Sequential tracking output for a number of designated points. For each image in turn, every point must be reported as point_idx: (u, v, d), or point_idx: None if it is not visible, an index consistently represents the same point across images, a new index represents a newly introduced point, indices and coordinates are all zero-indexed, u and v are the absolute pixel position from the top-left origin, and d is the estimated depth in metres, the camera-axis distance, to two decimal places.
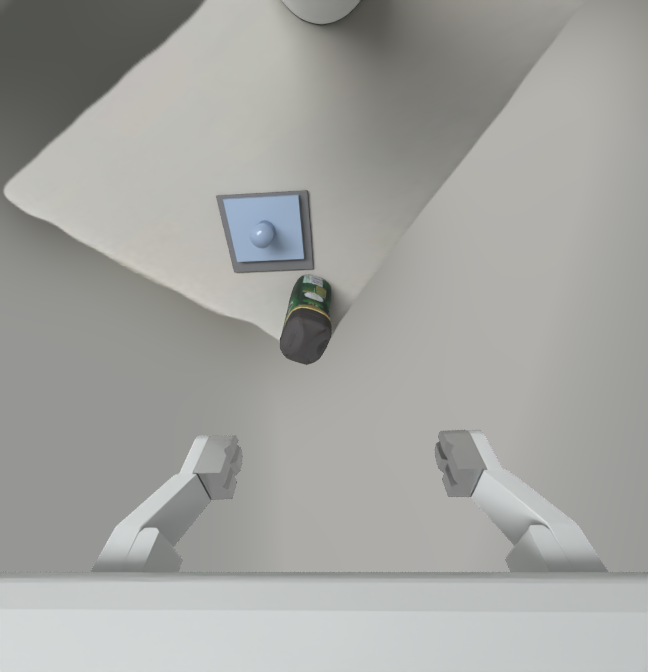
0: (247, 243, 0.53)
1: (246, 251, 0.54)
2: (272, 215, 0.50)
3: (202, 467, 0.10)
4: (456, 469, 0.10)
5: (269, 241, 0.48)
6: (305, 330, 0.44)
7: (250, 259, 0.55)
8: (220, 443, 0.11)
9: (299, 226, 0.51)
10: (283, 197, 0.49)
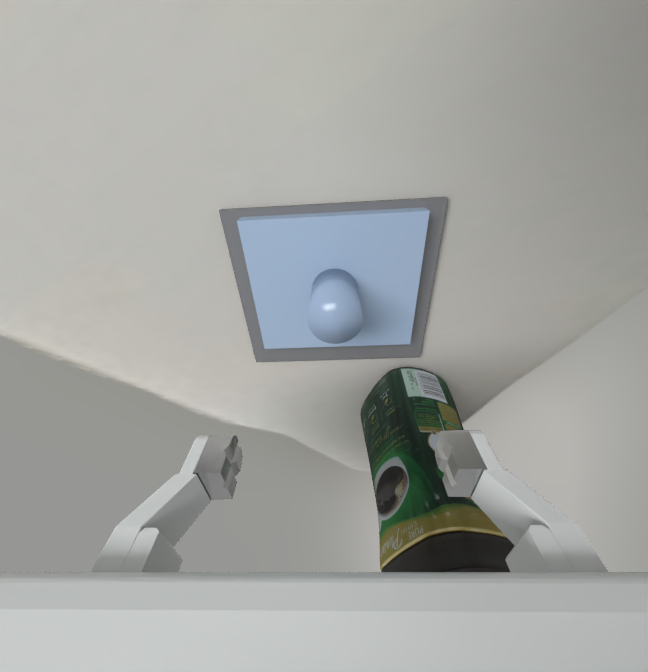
0: (289, 315, 0.24)
1: (285, 330, 0.24)
2: (356, 258, 0.21)
3: (202, 467, 0.10)
4: (456, 469, 0.10)
5: (356, 329, 0.19)
6: None
7: (293, 344, 0.25)
8: (220, 443, 0.11)
9: (414, 282, 0.22)
10: (392, 215, 0.19)
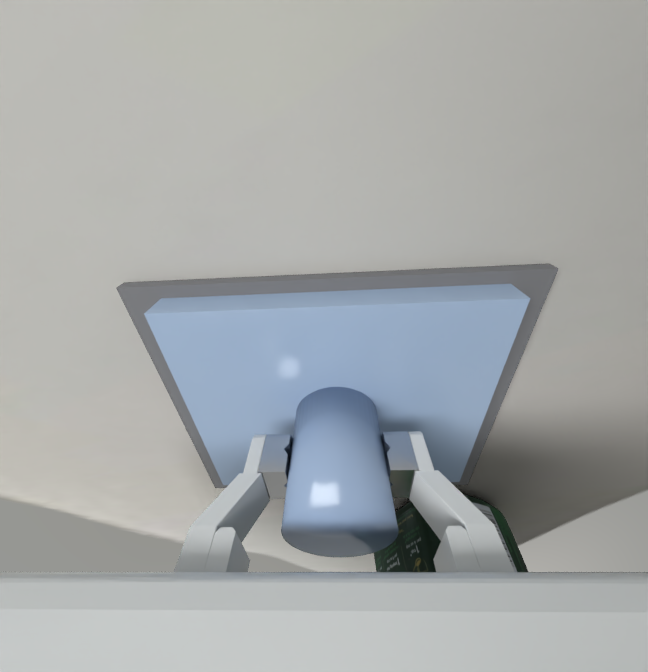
0: None
1: None
2: (378, 372, 0.11)
3: (265, 466, 0.10)
4: (389, 470, 0.10)
5: (383, 542, 0.09)
6: None
7: None
8: (279, 442, 0.11)
9: (480, 406, 0.12)
10: (453, 305, 0.09)
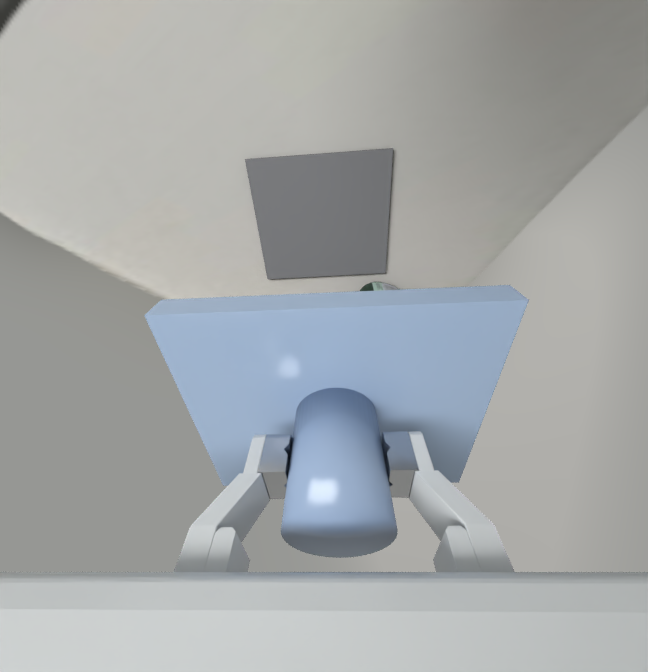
0: None
1: None
2: (377, 373, 0.11)
3: (265, 466, 0.10)
4: (389, 470, 0.10)
5: (382, 542, 0.09)
6: None
7: None
8: (279, 442, 0.11)
9: (479, 407, 0.12)
10: (451, 307, 0.10)
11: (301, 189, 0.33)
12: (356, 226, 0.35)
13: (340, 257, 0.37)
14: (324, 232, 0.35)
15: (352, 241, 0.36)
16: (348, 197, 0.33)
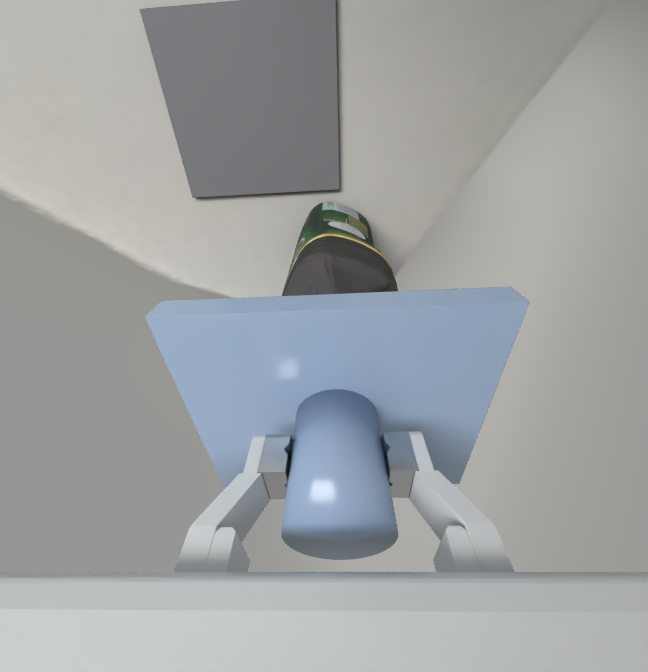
0: None
1: None
2: (377, 374, 0.11)
3: (265, 466, 0.10)
4: (389, 470, 0.10)
5: (382, 545, 0.09)
6: (340, 287, 0.17)
7: None
8: (279, 442, 0.11)
9: (480, 409, 0.12)
10: (452, 308, 0.10)
11: (219, 59, 0.25)
12: (297, 118, 0.27)
13: (281, 165, 0.29)
14: (257, 127, 0.27)
15: (294, 141, 0.28)
16: (282, 72, 0.25)
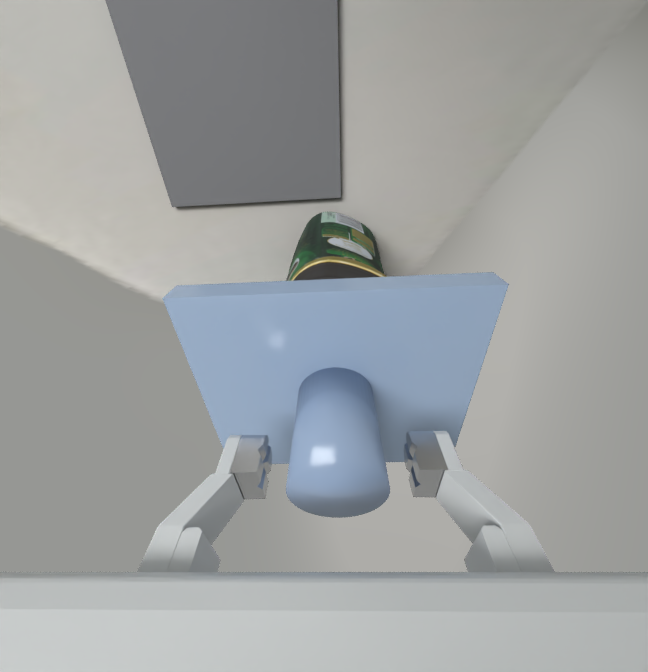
0: (265, 425, 0.15)
1: None
2: (373, 353, 0.12)
3: (238, 466, 0.10)
4: (418, 470, 0.10)
5: (376, 501, 0.10)
6: None
7: (273, 459, 0.17)
8: (253, 442, 0.11)
9: (467, 386, 0.13)
10: (439, 290, 0.11)
11: (198, 45, 0.21)
12: (291, 115, 0.23)
13: (273, 170, 0.25)
14: (244, 126, 0.23)
15: (288, 142, 0.24)
16: (273, 60, 0.21)
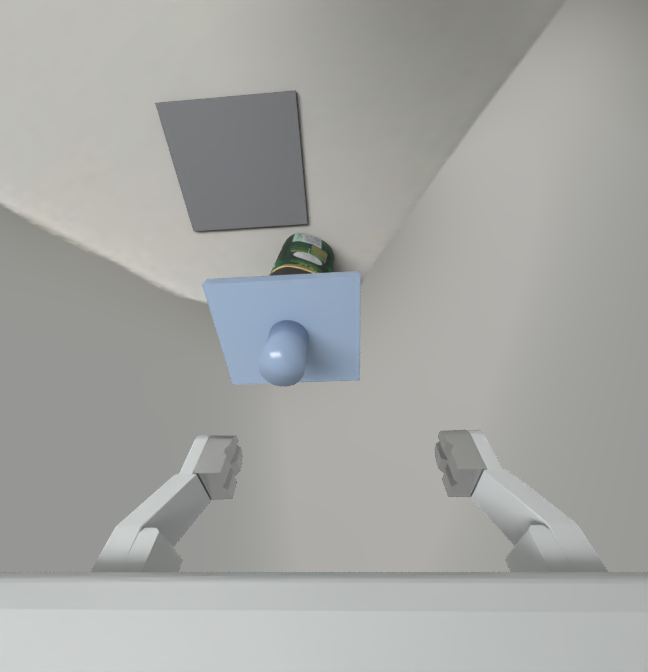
0: (252, 357, 0.27)
1: (249, 369, 0.28)
2: (304, 311, 0.25)
3: (202, 467, 0.10)
4: (456, 469, 0.10)
5: (300, 375, 0.23)
6: None
7: (258, 381, 0.29)
8: (220, 443, 0.11)
9: (356, 330, 0.26)
10: (330, 279, 0.23)
11: (213, 134, 0.34)
12: (272, 173, 0.36)
13: (261, 207, 0.38)
14: (242, 180, 0.36)
15: (270, 189, 0.37)
16: (259, 142, 0.34)
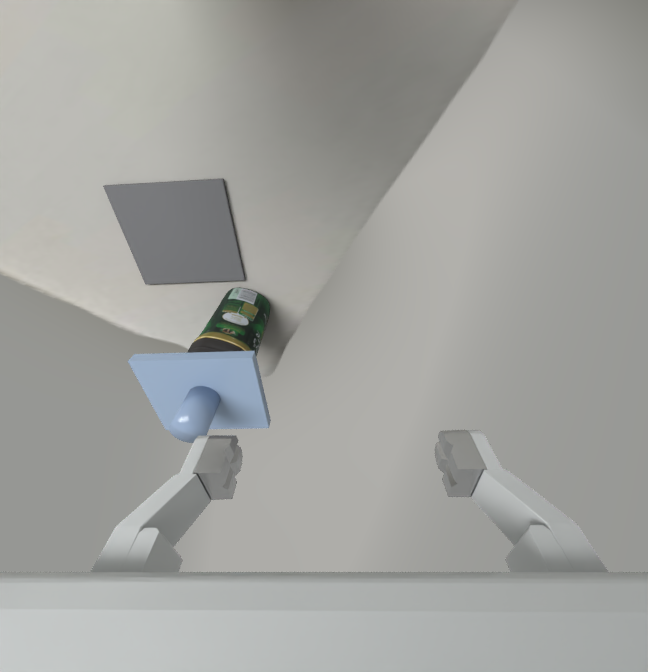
0: (177, 410, 0.34)
1: None
2: (213, 380, 0.31)
3: (202, 467, 0.10)
4: (456, 469, 0.10)
5: (203, 435, 0.29)
6: None
7: None
8: (220, 443, 0.11)
9: (257, 393, 0.32)
10: (228, 359, 0.29)
11: (155, 210, 0.39)
12: (209, 241, 0.41)
13: (202, 266, 0.44)
14: (183, 245, 0.42)
15: (209, 253, 0.42)
16: (196, 217, 0.40)
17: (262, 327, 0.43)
